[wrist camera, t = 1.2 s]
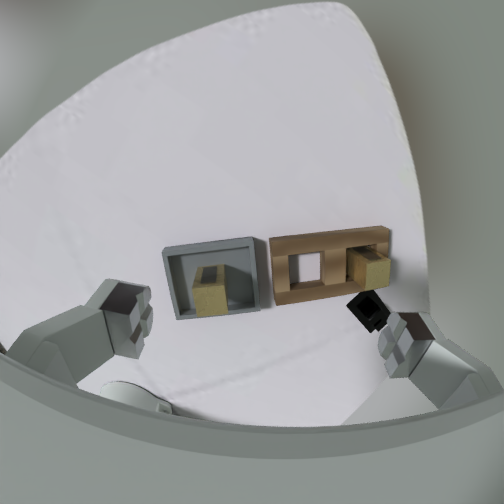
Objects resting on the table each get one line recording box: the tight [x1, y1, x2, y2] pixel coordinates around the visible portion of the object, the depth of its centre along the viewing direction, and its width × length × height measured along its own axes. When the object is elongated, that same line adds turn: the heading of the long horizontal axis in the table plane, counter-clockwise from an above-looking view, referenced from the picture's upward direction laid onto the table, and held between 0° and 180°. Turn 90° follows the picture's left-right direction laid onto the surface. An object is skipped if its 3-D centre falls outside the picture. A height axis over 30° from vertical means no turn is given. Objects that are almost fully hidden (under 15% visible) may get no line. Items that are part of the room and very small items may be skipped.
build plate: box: [346, 290, 391, 333], centre depth 45 cm, size 12×7×5 cm, turn 43°
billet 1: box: [192, 264, 228, 317], centre depth 38 cm, size 4×4×8 cm
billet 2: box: [346, 245, 391, 291], centre depth 40 cm, size 4×4×8 cm
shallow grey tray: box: [162, 237, 260, 320], centre depth 41 cm, size 11×13×2 cm
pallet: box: [269, 226, 389, 306], centre depth 42 cm, size 10×19×2 cm, turn 96°
